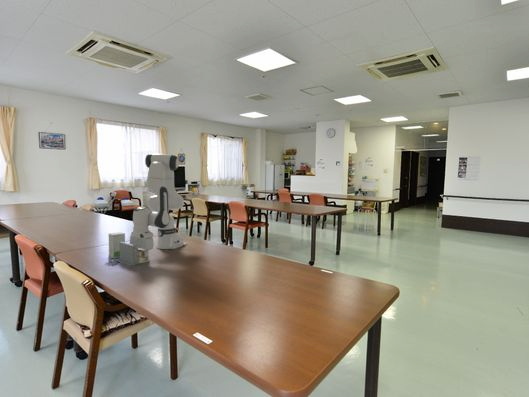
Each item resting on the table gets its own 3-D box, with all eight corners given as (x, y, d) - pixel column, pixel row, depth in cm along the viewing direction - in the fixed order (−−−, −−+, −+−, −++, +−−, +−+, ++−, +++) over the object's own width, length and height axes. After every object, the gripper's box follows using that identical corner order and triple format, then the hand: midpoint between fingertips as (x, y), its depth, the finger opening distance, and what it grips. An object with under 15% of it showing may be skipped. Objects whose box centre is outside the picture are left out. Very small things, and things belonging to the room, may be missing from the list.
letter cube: (143, 258, 186) (142, 248, 185) (148, 259, 183) (148, 250, 182) (134, 260, 181) (134, 250, 181) (139, 262, 178) (139, 252, 177)
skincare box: (113, 258, 185) (112, 235, 184) (108, 256, 189) (107, 233, 187) (126, 256, 192) (125, 233, 190) (121, 254, 196) (120, 231, 194)
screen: (124, 259, 185) (124, 240, 183) (138, 263, 176) (137, 244, 175) (116, 261, 180) (116, 242, 179) (130, 266, 172) (130, 246, 171)
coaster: (143, 258, 187) (143, 257, 187) (149, 260, 183) (149, 259, 183) (133, 261, 181) (133, 260, 181) (139, 263, 177) (139, 262, 177)
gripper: (126, 231, 183) (127, 252, 185) (146, 236, 172) (146, 258, 173) (136, 230, 189) (136, 250, 190) (155, 234, 177) (155, 256, 179)
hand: (141, 254), depth 182 cm, fingers open, 7 cm apart
